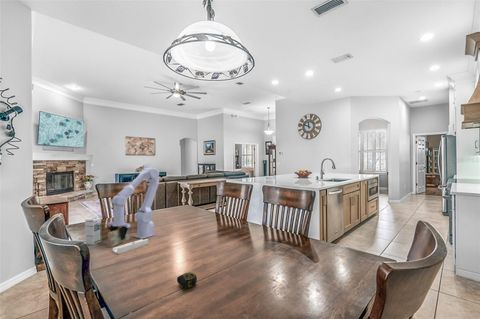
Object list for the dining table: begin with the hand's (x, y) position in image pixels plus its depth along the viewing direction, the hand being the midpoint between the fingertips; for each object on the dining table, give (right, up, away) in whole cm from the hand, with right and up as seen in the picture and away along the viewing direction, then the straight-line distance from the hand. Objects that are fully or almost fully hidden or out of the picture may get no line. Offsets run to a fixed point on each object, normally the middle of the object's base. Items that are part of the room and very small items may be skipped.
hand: (119, 238), depth 139 cm
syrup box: (-15, -3, 0) cm, 15 cm away
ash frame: (0, -3, 0) cm, 2 cm away
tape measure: (+51, -3, -47) cm, 69 cm away
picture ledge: (+10, -2, -8) cm, 13 cm away
